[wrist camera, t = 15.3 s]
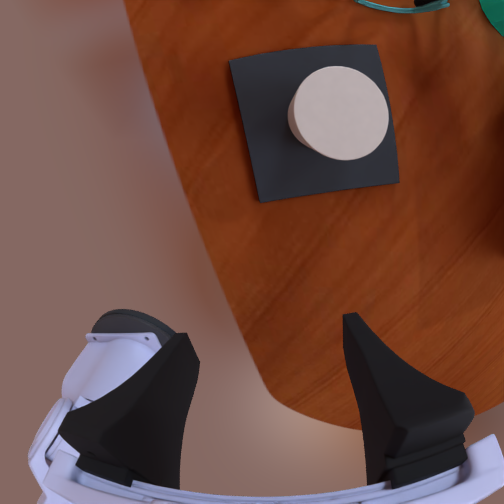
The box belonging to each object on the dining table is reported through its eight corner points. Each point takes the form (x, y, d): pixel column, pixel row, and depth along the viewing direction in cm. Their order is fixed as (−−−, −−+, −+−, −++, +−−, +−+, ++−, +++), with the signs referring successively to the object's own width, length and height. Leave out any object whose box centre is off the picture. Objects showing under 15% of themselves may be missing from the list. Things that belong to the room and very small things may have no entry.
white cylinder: (303, 159, 17) (316, 174, 12) (276, 98, 16) (276, 83, 10) (364, 138, 16) (401, 144, 11) (339, 77, 15) (366, 56, 9)
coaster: (260, 201, 19) (259, 203, 19) (229, 62, 15) (228, 60, 15) (397, 181, 18) (399, 183, 17) (374, 46, 14) (376, 44, 13)
